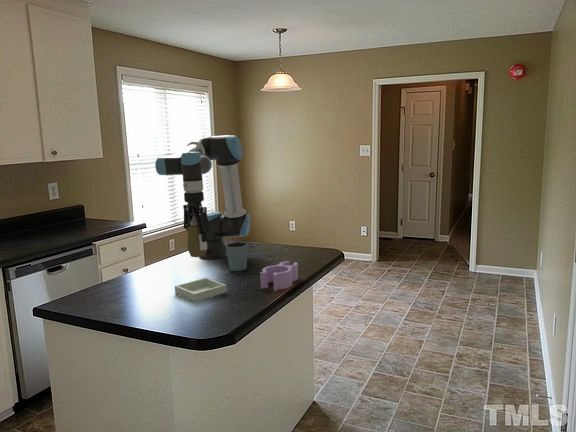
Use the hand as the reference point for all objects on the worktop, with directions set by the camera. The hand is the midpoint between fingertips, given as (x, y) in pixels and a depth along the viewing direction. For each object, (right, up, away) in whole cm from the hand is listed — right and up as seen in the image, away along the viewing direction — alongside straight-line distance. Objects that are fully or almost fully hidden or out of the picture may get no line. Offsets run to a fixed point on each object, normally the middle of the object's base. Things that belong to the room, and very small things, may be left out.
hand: (197, 247), depth 185 cm
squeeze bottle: (0, -3, +1) cm, 3 cm away
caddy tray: (+1, -19, +3) cm, 19 cm away
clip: (+33, -16, +14) cm, 39 cm away
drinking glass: (+12, -13, +38) cm, 42 cm away
